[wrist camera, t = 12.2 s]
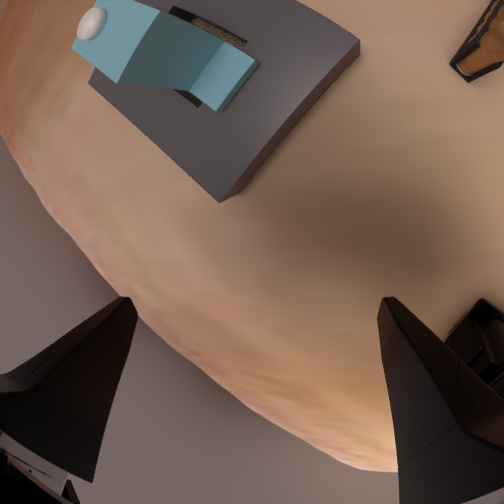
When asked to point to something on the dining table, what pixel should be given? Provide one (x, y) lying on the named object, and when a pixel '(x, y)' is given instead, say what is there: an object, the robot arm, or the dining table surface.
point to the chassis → (247, 97)
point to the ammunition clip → (482, 45)
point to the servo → (161, 51)
